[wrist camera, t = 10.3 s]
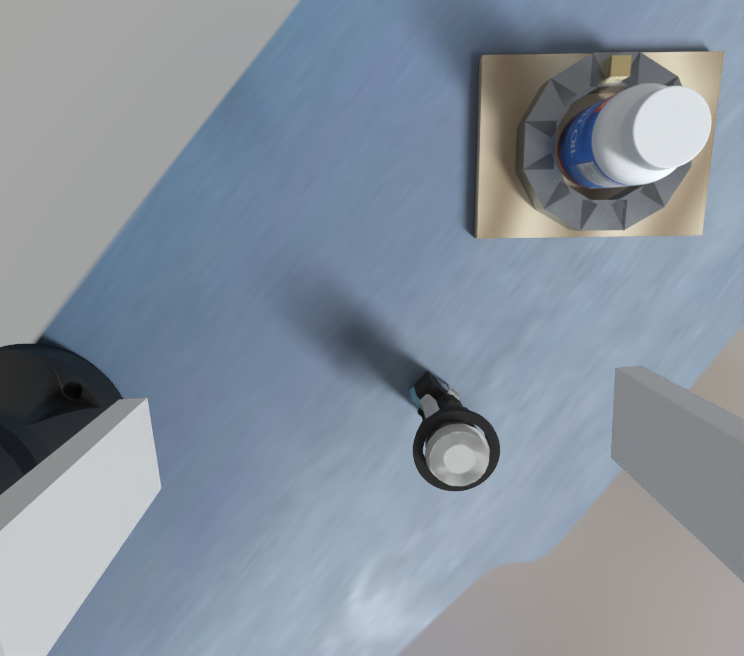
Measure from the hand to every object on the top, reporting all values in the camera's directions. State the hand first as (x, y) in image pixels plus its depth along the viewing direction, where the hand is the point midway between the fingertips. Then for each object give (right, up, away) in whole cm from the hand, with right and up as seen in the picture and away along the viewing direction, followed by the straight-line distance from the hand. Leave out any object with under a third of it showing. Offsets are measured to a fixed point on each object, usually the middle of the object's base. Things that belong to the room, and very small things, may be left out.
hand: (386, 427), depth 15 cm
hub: (+15, +15, +22) cm, 31 cm away
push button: (+5, -3, +26) cm, 27 cm away
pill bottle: (+15, +15, +21) cm, 30 cm away
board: (+15, +15, +22) cm, 31 cm away
